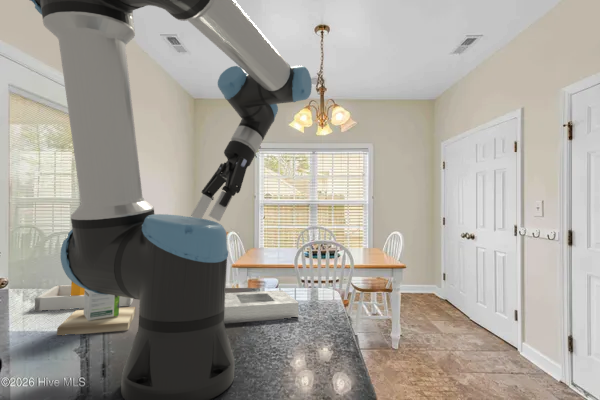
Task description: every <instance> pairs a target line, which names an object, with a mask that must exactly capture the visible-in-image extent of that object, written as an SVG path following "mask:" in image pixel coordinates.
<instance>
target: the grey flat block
mask: <svg viewBox="0 0 600 400" xmlns="http://www.w3.org/2000/svg"><path fill="white" fill-rule="evenodd" d="M299 306H300V305H299V301H297V300H296V299H295V298H293V297H292V296H291V295H290V294H288V293H287V292H285V290H284V289H282V290H280V289H278V290H264V291H263V290H262V291H261V290H260V291H244V292H243V291H242V292H241V291H240V292H225V310H224V325H225V324H236V323H246V322H247V323H248V322H259V321H273V320H285V319H284V318H288V319H292V318H291V317H298V318H299Z"/></svg>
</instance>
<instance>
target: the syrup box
mask: <svg viewBox="0 0 600 400" xmlns="http://www.w3.org/2000/svg"><path fill="white" fill-rule="evenodd" d="M119 297H120V296H116V295H111V294H107V295H105V294H98V293H94V292H93V291H90V290H87V289H85V293H84V308H83V310H84V316H85V317H86V319H87V320H88V321H92V320H96V319H103V318H109V317H117V316H118V315H119V308H120V306H119Z"/></svg>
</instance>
